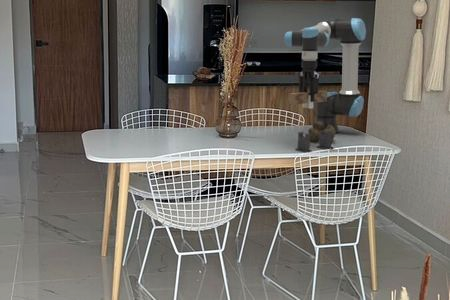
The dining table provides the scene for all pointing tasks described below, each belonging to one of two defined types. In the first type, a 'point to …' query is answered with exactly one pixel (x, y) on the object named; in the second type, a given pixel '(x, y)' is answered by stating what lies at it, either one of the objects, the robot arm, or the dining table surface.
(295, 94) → the rail
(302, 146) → the standards
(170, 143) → the dining table surface
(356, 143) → the dining table surface
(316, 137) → the decorative stone
